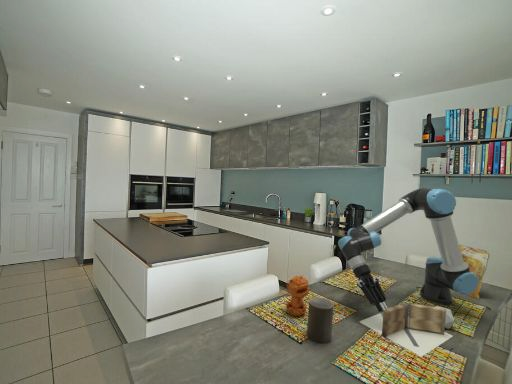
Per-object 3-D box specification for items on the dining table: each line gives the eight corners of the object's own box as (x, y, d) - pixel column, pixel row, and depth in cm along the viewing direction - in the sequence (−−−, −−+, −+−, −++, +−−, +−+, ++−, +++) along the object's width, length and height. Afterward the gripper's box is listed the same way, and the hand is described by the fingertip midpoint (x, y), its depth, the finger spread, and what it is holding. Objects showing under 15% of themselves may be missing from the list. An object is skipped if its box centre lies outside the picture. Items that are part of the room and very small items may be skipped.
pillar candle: (317, 345, 98) (320, 307, 97) (302, 331, 106) (304, 296, 106) (336, 339, 102) (339, 302, 102) (320, 326, 111) (322, 292, 110)
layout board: (392, 309, 130) (392, 308, 130) (453, 337, 108) (453, 335, 108) (358, 322, 116) (358, 321, 116) (421, 358, 94) (421, 356, 94)
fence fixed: (402, 328, 112) (404, 304, 112) (401, 325, 114) (402, 302, 114) (445, 335, 109) (447, 310, 108) (442, 332, 111) (444, 308, 110)
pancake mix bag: (450, 285, 167) (453, 242, 165) (485, 298, 149) (490, 250, 148) (443, 286, 164) (447, 243, 163) (479, 300, 147) (484, 251, 145)
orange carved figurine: (308, 320, 115) (311, 281, 114) (284, 316, 117) (286, 278, 116) (308, 308, 126) (310, 272, 125) (286, 305, 128) (288, 269, 127)
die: (454, 327, 117) (442, 304, 122) (463, 327, 110) (449, 302, 115) (435, 332, 118) (423, 308, 124) (442, 331, 111) (429, 307, 116)
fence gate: (400, 326, 113) (402, 303, 113) (404, 328, 111) (406, 305, 111) (380, 334, 106) (382, 310, 106) (385, 337, 105) (387, 312, 104)
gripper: (363, 268, 129) (391, 318, 116) (344, 272, 122) (371, 325, 109) (374, 262, 125) (404, 312, 111) (354, 265, 117) (385, 319, 104)
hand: (388, 318), depth 110 cm, fingers closed
